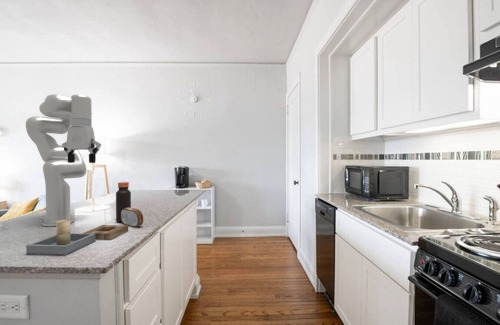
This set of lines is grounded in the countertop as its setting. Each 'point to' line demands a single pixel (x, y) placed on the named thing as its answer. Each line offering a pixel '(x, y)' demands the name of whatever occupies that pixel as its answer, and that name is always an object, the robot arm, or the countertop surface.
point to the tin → (132, 217)
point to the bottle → (122, 199)
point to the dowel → (63, 232)
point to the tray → (51, 247)
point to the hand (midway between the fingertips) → (81, 162)
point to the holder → (108, 231)
